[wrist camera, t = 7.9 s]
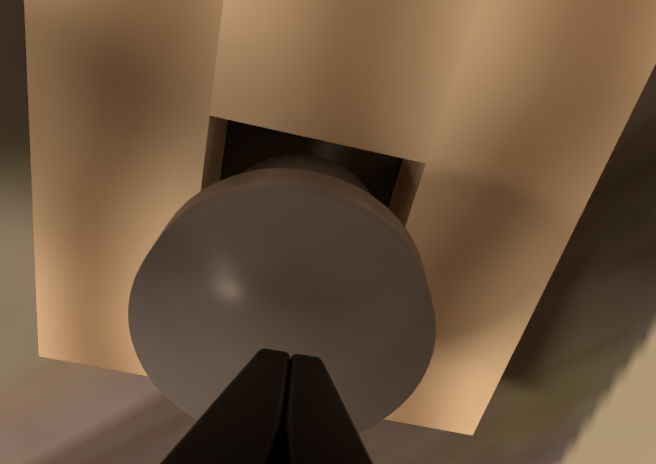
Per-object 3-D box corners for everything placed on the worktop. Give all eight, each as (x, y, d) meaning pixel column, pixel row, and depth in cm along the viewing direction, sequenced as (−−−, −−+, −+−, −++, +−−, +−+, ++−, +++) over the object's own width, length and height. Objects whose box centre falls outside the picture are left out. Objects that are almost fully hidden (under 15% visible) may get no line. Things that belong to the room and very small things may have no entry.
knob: (178, 299, 16) (121, 418, 12) (200, 98, 13) (135, 163, 9) (377, 338, 16) (388, 465, 12) (439, 152, 13) (480, 237, 9)
